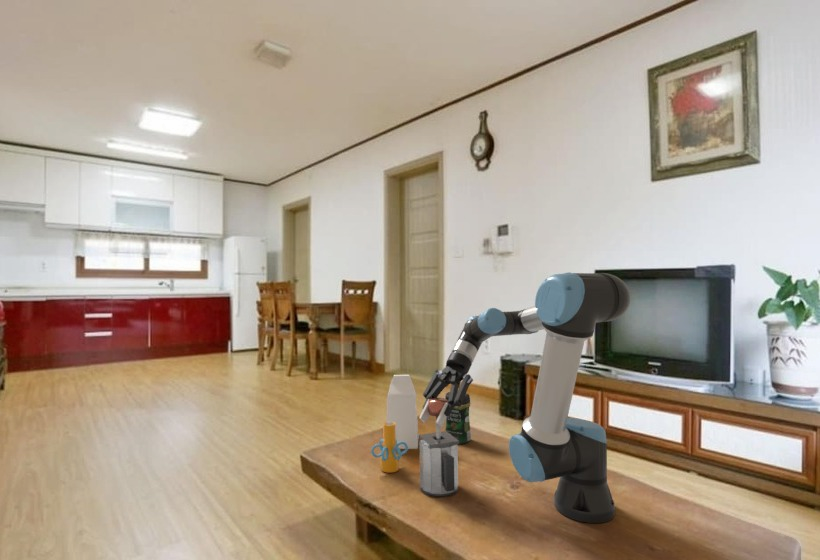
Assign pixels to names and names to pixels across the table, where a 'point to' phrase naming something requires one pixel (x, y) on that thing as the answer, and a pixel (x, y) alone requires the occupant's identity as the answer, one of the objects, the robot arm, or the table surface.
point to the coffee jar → (459, 421)
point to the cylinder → (389, 449)
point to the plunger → (436, 412)
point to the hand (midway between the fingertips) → (430, 422)
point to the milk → (403, 410)
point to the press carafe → (438, 465)
